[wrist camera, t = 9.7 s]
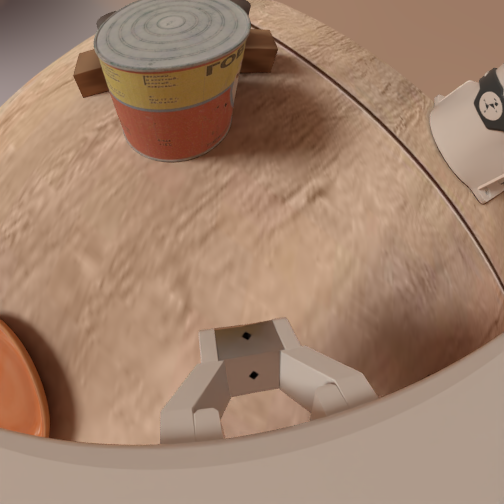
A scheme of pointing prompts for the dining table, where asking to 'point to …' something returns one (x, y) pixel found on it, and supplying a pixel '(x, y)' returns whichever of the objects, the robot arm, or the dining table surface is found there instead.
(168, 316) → the dining table surface
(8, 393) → the saucer
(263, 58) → the bench stop
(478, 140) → the robot arm
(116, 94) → the canned food
